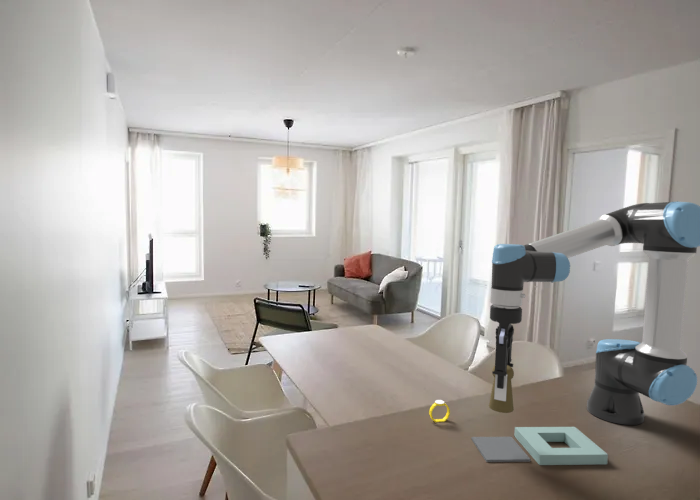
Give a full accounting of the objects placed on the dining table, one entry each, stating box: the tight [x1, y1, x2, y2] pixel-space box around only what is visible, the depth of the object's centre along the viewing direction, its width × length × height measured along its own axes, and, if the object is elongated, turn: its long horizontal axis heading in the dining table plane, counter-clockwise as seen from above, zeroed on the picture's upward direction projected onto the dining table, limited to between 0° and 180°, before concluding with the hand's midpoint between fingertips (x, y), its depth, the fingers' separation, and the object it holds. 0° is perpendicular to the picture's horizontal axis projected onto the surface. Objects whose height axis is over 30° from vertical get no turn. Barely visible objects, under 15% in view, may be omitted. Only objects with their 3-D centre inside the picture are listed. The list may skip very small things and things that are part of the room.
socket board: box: [514, 426, 609, 466], centre depth 111 cm, size 17×14×2 cm
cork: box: [488, 365, 515, 414], centre depth 109 cm, size 6×6×11 cm
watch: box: [428, 399, 451, 423], centre depth 126 cm, size 6×3×6 cm, turn 102°
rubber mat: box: [471, 436, 532, 463], centre depth 110 cm, size 11×11×1 cm
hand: (501, 395), depth 109 cm, fingers closed on cork, 5 cm apart
